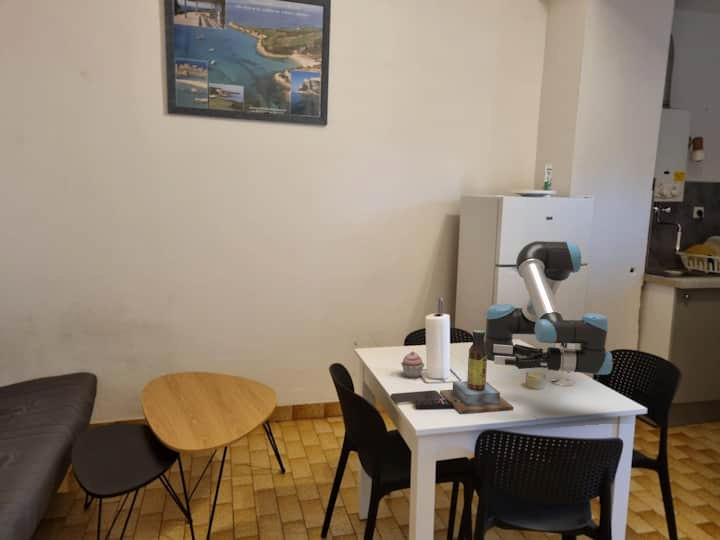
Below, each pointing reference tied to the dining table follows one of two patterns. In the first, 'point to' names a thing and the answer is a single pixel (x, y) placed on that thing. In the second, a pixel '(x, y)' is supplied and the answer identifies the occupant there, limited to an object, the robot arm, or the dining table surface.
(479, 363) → the sauce bottle
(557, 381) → the wineglass
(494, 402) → the base
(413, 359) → the cupcake
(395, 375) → the dining table surface
